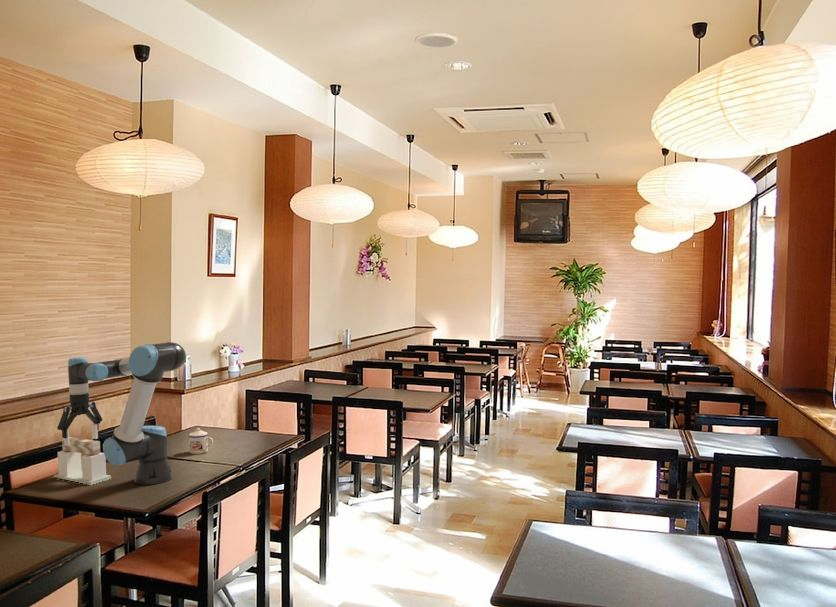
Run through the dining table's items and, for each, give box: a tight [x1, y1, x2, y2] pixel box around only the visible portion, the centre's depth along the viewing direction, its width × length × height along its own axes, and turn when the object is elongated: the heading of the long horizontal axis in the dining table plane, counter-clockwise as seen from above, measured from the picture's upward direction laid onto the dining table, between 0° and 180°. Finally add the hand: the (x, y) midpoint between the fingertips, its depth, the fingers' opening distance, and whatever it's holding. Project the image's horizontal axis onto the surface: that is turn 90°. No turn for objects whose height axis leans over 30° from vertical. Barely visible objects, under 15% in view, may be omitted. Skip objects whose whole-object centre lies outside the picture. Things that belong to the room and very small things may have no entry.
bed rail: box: [61, 436, 101, 456], centre depth 301 cm, size 20×4×9 cm, turn 62°
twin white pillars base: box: [53, 449, 112, 486], centre depth 301 cm, size 24×10×12 cm, turn 62°
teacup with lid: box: [188, 427, 214, 455], centre depth 344 cm, size 12×9×12 cm
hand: (81, 442), depth 300 cm, fingers open, 13 cm apart
